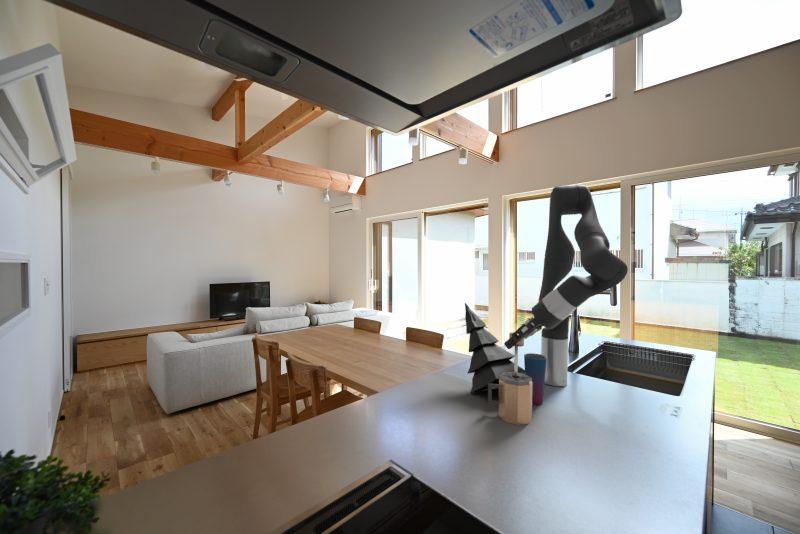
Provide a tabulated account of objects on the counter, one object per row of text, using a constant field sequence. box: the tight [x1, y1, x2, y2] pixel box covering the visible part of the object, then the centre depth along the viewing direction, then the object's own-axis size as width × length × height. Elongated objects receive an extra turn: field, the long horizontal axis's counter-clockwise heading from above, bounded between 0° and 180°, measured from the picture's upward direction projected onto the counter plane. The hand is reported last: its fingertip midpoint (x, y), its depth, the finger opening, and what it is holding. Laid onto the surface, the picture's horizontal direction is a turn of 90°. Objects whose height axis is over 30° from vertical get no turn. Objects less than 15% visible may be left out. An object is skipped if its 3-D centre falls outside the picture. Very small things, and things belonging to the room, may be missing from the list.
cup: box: [523, 352, 547, 406], centre depth 110 cm, size 7×7×15 cm
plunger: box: [508, 331, 525, 378], centre depth 98 cm, size 4×4×18 cm
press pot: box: [487, 372, 533, 426], centre depth 98 cm, size 9×11×12 cm
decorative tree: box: [464, 302, 525, 398], centre depth 121 cm, size 15×15×35 cm
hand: (509, 344), depth 99 cm, fingers closed on plunger, 4 cm apart
